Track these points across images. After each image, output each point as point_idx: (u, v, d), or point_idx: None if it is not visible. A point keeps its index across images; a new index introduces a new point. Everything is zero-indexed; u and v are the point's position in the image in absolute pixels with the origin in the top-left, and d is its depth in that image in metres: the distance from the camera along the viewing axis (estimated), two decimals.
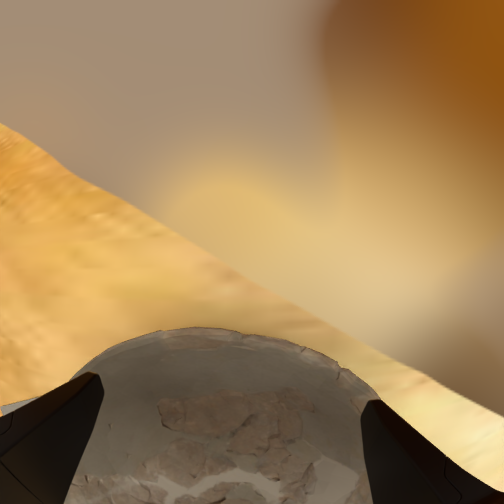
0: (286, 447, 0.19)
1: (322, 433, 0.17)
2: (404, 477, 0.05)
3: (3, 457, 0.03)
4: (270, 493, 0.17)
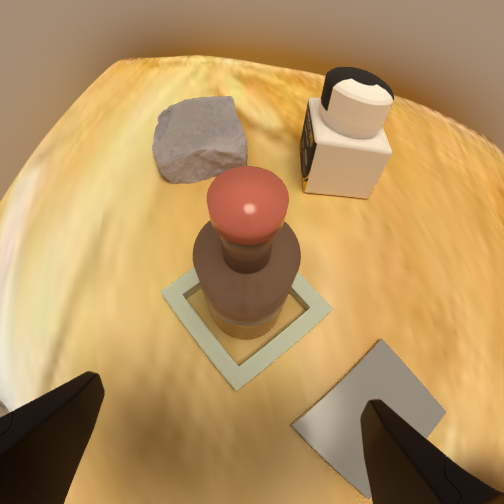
0: None
1: None
2: (404, 477, 0.05)
3: (3, 457, 0.03)
4: None
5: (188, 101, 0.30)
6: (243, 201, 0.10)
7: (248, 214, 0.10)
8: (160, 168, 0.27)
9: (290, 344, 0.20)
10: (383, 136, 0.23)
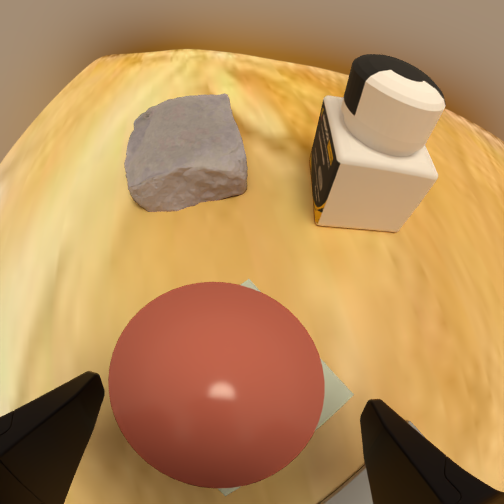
0: None
1: None
2: (404, 477, 0.05)
3: (3, 457, 0.03)
4: None
5: (172, 101, 0.24)
6: (199, 406, 0.03)
7: (213, 445, 0.03)
8: (132, 192, 0.20)
9: None
10: (426, 153, 0.16)
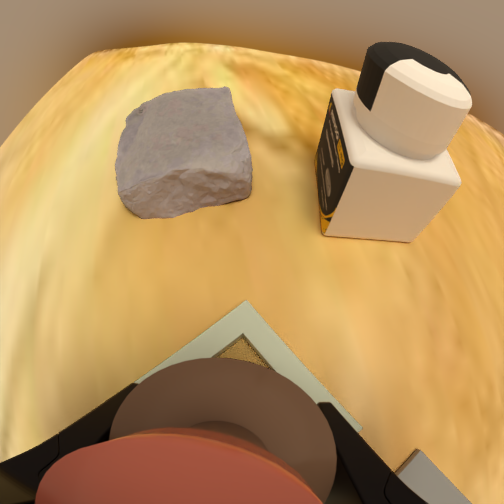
0: None
1: None
2: (342, 488, 0.05)
3: None
4: None
5: (167, 95, 0.21)
6: None
7: None
8: (122, 197, 0.18)
9: None
10: (447, 156, 0.13)
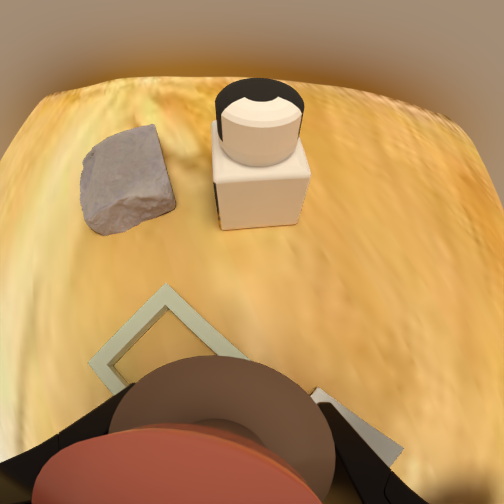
0: None
1: None
2: (342, 488, 0.05)
3: None
4: None
5: (110, 139, 0.27)
6: None
7: None
8: (88, 223, 0.24)
9: None
10: (300, 155, 0.21)
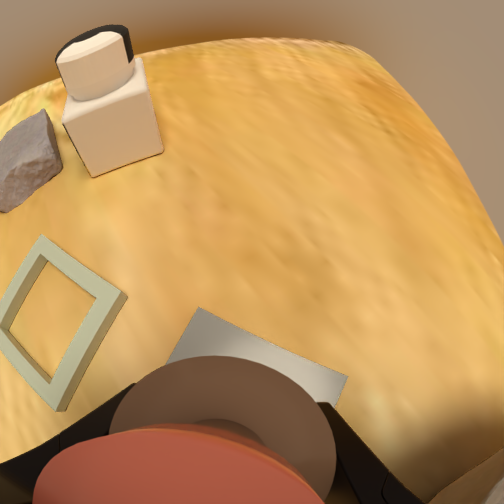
0: None
1: None
2: (340, 489, 0.05)
3: None
4: None
5: (9, 131, 0.22)
6: None
7: None
8: None
9: (85, 347, 0.15)
10: (138, 78, 0.18)
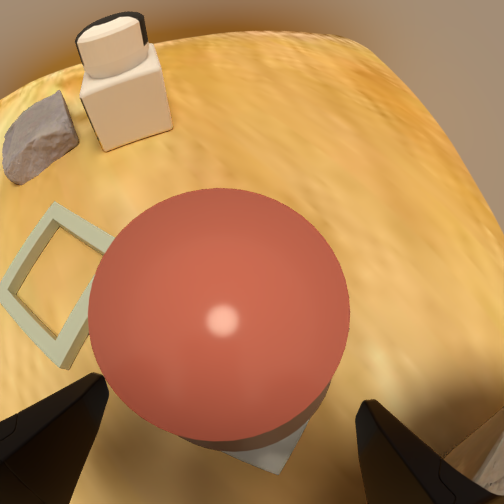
0: None
1: None
2: (398, 478, 0.05)
3: (8, 460, 0.03)
4: None
5: (25, 111, 0.24)
6: (196, 326, 0.03)
7: (212, 379, 0.03)
8: (7, 175, 0.21)
9: None
10: (152, 59, 0.19)
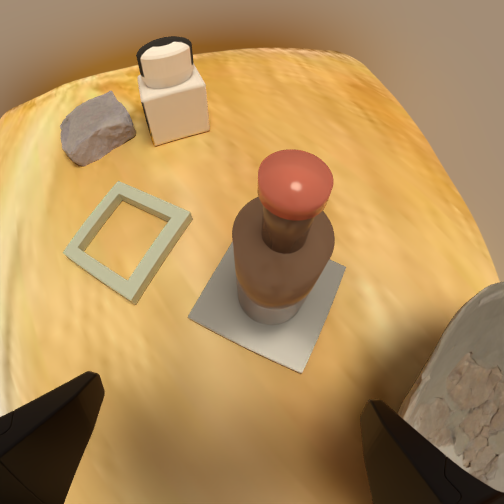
0: (487, 438, 0.15)
1: None
2: (404, 477, 0.05)
3: (3, 457, 0.03)
4: None
5: (79, 106, 0.32)
6: (293, 180, 0.11)
7: (298, 191, 0.11)
8: (72, 157, 0.29)
9: (162, 249, 0.24)
10: (197, 76, 0.27)
